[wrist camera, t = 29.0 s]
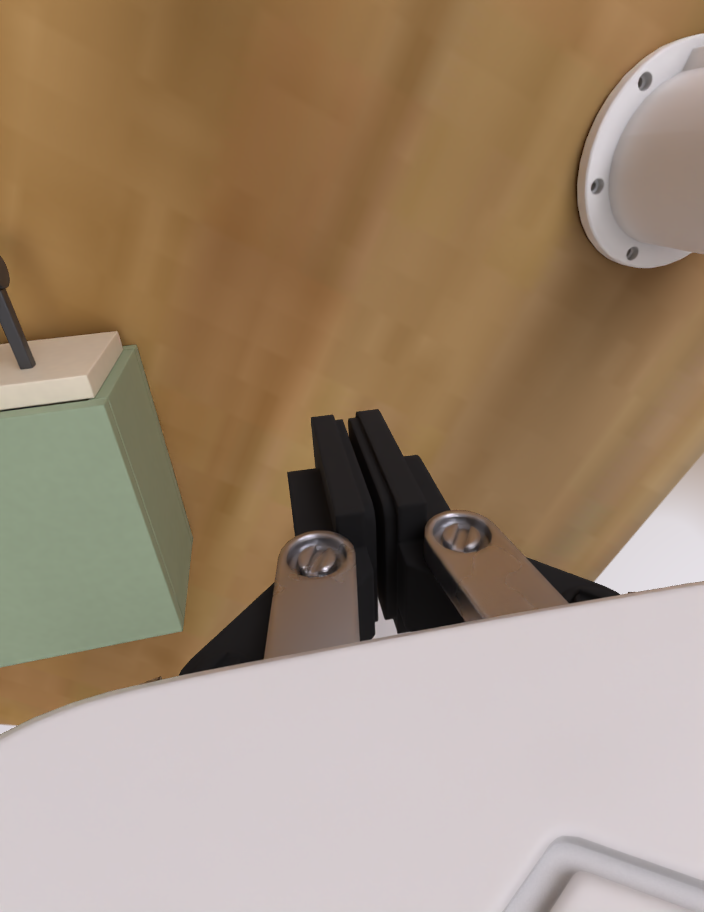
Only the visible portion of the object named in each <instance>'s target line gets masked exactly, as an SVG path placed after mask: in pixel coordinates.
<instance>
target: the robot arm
mask: <svg viewBox="0 0 704 912" xmlns="http://www.w3.org/2000/svg"><path fill="white" fill-rule="evenodd" d="M591 185H592V186H591ZM577 198H578V209H579V213H580V218H581V223H582V225H583V227H584V230H585V232H586V234H587V237H588V239H589V240H590V241H591V243H592V244H593V245H594V247H595V248H596V249H597V250H598V251H599V252H600V253H601V254H603V255H604V256H605V257H606V258H608V259H610V260H612V261H614V262H617V263H619V264H621V265H626V266H631V267H635V268H654V267H659V266H664V265H668V264H670V263H673V262H675V261H677V260H680V259H682V258H684V257H686V256H687V255H689V254H691V253H692V252H694V253H699V254H704V34H697V35H693V36H689V37H685V38H681V39H679V40H676V41H674V42H671V43H669V44H666V45H664V46H661V47H660V48H658V49H657V50H655V51H654V52H652V53H651V54H649V55H648V56H646V57H645V58H643V59H642V60H641V61H640V62H639V63H637V64H636V65H635V66H634V67H633V68H632V69H631V70H630V71H629V72H628V73H627V74H626V75H625V76H624V77H623V78H622V79H621V81H620V82H619V83H618V84H617V86H616V87H615V88H614V89H613V91H612V92H611V93H610V94H609V96H608V97H607V99H606V101H605V103H604V104H603V106H602V108H601V109H600V111H599V113H598V114H597V116H596V118H595V120H594V123H593V125H592V127H591V130H590V132H589V134H588V137H587V139H586V142H585V146H584V150H583V153H582V157H581V160H580V166H579V174H578V181H577ZM311 427H312V437H313V447H314V457H315V467H316V468H315V469H307V470H300V471H292V472H287V474H288V482H289V490H290V498H291V507H292V515H293V523H294V531H295V537H294V538H293V539H291V540H290V541H288V542H287V543H286V544H285V546H284V547H283V548H282V549H281V551H280V554H279V557H278V563H277V570H276V577H275V582H274V583H273V584H272V585H271V586H270V587H269V588H268V589H267V590H266V591H265V592H264V593H262V594H261V595H260V596H259V597H258V598H257V599H256V600H255V601H254V602H253V603H252V604H250V605H249V606H248V607H247V608H246V609H245V610H244V611H243V612H242V613H241V614H240V615H239V616H237V617H236V618H235V619H234V620H233V621H232V622H231V623H230V624H229V625H228V626H227V627H226V628H224V629H223V630H222V631H221V632H220V633H219V634H218V635H217V636H216V637H215V638H214V639H212V640H211V641H210V642H209V643H208V644H207V645H206V646H205V647H204V648H203V649H202V650H201V651H199V652H198V653H197V654H196V655H195V656H194V657H193V658H192V659H191V660H190V661H189V662H188V663H187V664H186V666H185V667H184V668H183V669H182V670H181V672H180V674H179V676H176V677H172V678H167V679H163V680H162V678H161V677H158V678H155V679H153V680H150V681H147V682H145V683H142V684H139V685H136V686H131V687H127V688H122V689H118V690H114V691H110V692H106V693H103V694H100V695H96V696H93V697H90V698H87V699H83V700H80V701H77V702H73V703H71V704H68V705H65V706H63V707H60V708H58V709H55V710H53V711H50V712H47V713H45V714H42V715H40V716H37V717H35V718H32V719H30V720H28V721H26V722H24V723H22V724H20V725H18V726H16V727H14V728H12V729H10V730H9V731H6V732H4V733H2V734H0V912H704V581H702V582H695V583H687V584H681V585H676V586H670V587H665V588H659V589H652V590H646V591H640V592H628V594H623V595H620V594H619V593H617V592H616V591H613V590H611V589H609V588H607V587H605V586H603V585H600V584H597V583H595V582H592V581H589V580H586V579H584V578H581V577H578V576H576V575H573V574H570V573H567V572H565V571H562V570H559V569H557V568H554V567H551V566H549V565H546V564H543V563H540V562H538V561H535V560H532V559H530V558H527V557H525V556H524V555H523V554H522V553H521V552H520V551H519V550H518V549H517V548H516V546H515V545H514V544H513V543H512V542H511V541H510V540H509V539H508V538H507V537H506V536H505V535H504V534H503V533H502V532H501V531H500V529H499V528H498V527H497V526H496V525H495V524H494V523H493V522H491V521H490V520H489V519H488V518H486V517H484V516H482V515H480V514H477V513H474V512H470V511H465V510H450V508H449V507H448V505H447V503H446V502H445V500H444V498H443V496H442V495H441V493H440V491H439V489H438V488H437V486H436V484H435V482H434V481H433V479H432V477H431V476H430V474H429V472H428V470H427V469H426V467H425V465H424V463H423V462H422V460H421V458H420V457H419V456H418V455H412V456H405V457H403V455H402V453H401V451H400V449H399V447H398V445H397V443H396V441H395V440H394V438H393V436H392V434H391V432H390V430H389V428H388V426H387V424H386V422H385V420H384V419H383V417H382V415H381V413H380V411H379V410H378V409H376V410H368V411H359V412H356V418H349V419H348V429H349V436H348V433H347V431H346V428H345V425H344V422H343V420H342V419H341V420H335V419H334V416H333V415H326V416H318V417H311ZM378 600H379V603H380V606H381V610H382V613H383V616H384V619H385V620H390V619H393V621H394V624H395V627H396V630H397V633H398V635H392V636H387V637H381V638H376V639H372V638H373V637H374V636H375V622H378ZM406 632H409V633H406ZM401 633H403V634H401Z"/></svg>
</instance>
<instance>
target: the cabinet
mask: <svg viewBox="0 0 704 912" xmlns="http://www.w3.org/2000/svg"><path fill="white" fill-rule="evenodd" d="M122 347H123V351H122V353H121V355H120V356H119V358H118V360H117V361H116V363H115V365H114V366H113V368H112V370H111V371H110V373H109V375H108V376H107V378H106V380H105V381H104V383H103V385H102V386H101V388H100V390H99V391H98V393H97V395H96V396H95V398H91V399H89V400H88V401H80V402H73V403H65V404H57V405H50V406H42V407H34V408H27V409H19V410H11V411H4V412H0V667H5V666H10V665H15V664H20V663H25V662H30V661H35V660H40V659H45V658H50V657H55V656H60V655H65V654H70V653H75V652H80V651H85V650H90V649H95V648H100V647H105V646H110V645H115V644H120V643H125V642H130V641H135V640H140V639H145V638H150V637H155V636H161V635H166V634H171V633H176V632H181V631H183V624H184V616H185V606H186V597H187V588H188V579H189V570H190V561H191V551H192V542H193V536H192V533H191V529H190V526H189V523H188V519H187V516H186V512H185V509H184V505H183V502H182V499H181V495H180V492H179V488H178V485H177V481H176V478H175V475H174V471H173V468H172V464H171V461H170V457H169V454H168V451H167V447H166V444H165V440H164V437H163V434H162V430H161V427H160V423H159V420H158V416H157V413H156V410H155V406H154V403H153V399H152V396H151V392H150V389H149V386H148V382H147V379H146V375H145V372H144V368H143V365H142V362H141V358H140V355H139V351H138V348H137V345H128V346H122Z"/></svg>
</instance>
